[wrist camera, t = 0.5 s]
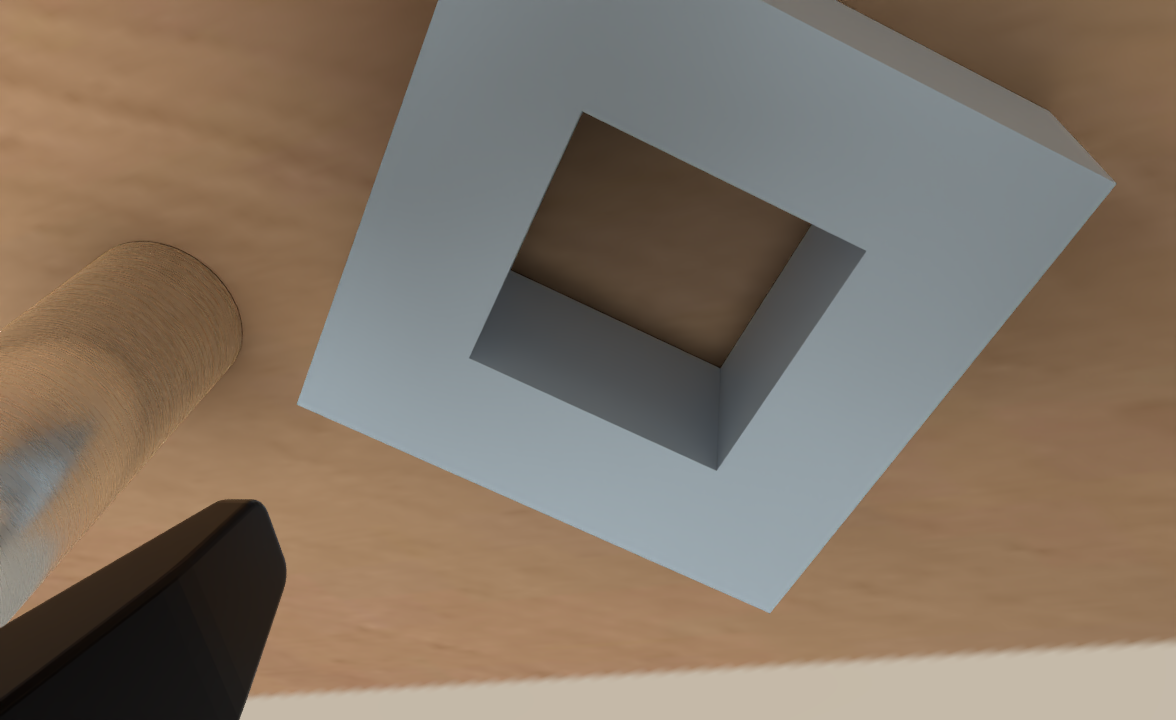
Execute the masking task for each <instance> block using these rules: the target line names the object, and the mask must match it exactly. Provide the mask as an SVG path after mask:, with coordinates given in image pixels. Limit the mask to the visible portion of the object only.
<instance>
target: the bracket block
mask: <svg viewBox="0 0 1176 720" xmlns="http://www.w3.org/2000/svg"><path fill="white" fill-rule="evenodd" d="M583 112H585V113H587V114H589V115H591V116H593V117H595V118H597V119H599V120H601V121H603V122H605V123H607V124H609V125H611V126H613V127H615V128H617V129H619V130H621V131H623V132H625V133H627V134H629V135H631V136H633V137H635V138H637V139H640V140H642V141H644V142H646V143H648V144H650V145H652V146H654V147H656V148H658V149H660V150H662V151H664V152H666V153H668V154H670V155H672V156H674V157H676V158H678V159H680V160H682V161H684V162H686V163H688V164H690V165H692V166H695V167H697V168H699V169H701V170H703V171H705V172H707V173H709V174H711V175H713V176H715V177H717V178H719V179H721V180H723V181H725V182H727V183H729V184H731V185H733V186H735V187H737V188H739V189H741V190H743V191H745V192H747V193H750V194H752V195H754V196H756V197H758V198H760V199H762V200H764V201H766V202H768V203H770V204H772V205H774V206H776V207H778V208H780V209H782V210H784V211H786V212H788V213H790V214H792V215H794V216H796V217H798V218H800V219H802V220H805V221H807V222H809V223H811V224H812V225H811V227H810V228H809V230H808V231H807V233H806V234H805V236H804V238H803V239H802V241H801V242H800V244H799V245H798V247H797V249H796V250H795V252H794V253H793V255H792V256H791V258H790V260H789V261H788V263H787V264H786V266H785V267H784V269H783V271H782V272H781V274H780V275H779V277H778V278H777V280H776V282H775V283H774V285H773V286H772V288H771V289H770V291H769V293H768V294H767V296H766V297H765V299H764V300H763V302H762V304H761V305H760V307H759V308H758V310H757V312H756V313H755V315H754V316H753V318H752V319H751V321H750V323H749V324H748V326H747V327H746V329H745V330H744V332H743V334H742V335H741V337H740V338H739V340H738V341H737V343H736V345H735V346H734V348H733V349H732V351H731V352H730V354H729V356H728V357H727V359H726V360H725V362H724V363H723V365H722V367H721V368H718V367H716V366H714V365H712V364H710V363H708V362H706V361H703V360H701V359H699V358H697V357H695V356H693V355H691V354H689V353H686V352H684V351H682V350H680V349H678V348H676V347H674V346H671V345H669V344H667V343H665V342H663V341H661V340H659V339H656V338H654V337H652V336H650V335H648V334H646V333H644V332H642V331H639V330H637V329H635V328H633V327H631V326H629V325H627V324H624V323H622V322H620V321H618V320H616V319H614V318H612V317H609V316H607V315H605V314H603V313H601V312H599V311H597V310H595V309H592V308H590V307H588V306H586V305H584V304H582V303H580V302H577V301H575V300H573V299H571V298H569V297H567V296H565V295H562V294H560V293H558V292H556V291H554V290H552V289H550V288H548V287H545V286H543V285H541V284H539V283H537V282H535V281H533V280H530V279H528V278H526V277H524V276H522V275H520V274H518V273H515V272H513V271H511V268H512V266H513V263H514V261H515V259H516V257H517V255H518V252H519V250H520V248H521V246H522V244H523V242H524V239H525V237H526V235H527V233H528V231H529V228H530V226H531V224H532V222H533V220H534V218H535V215H536V213H537V211H538V209H539V207H540V204H541V202H542V200H543V198H544V196H545V194H546V191H547V189H548V187H549V185H550V183H551V180H552V178H553V176H554V174H555V172H556V170H557V167H558V165H559V163H560V161H561V159H562V156H563V154H564V152H565V150H566V148H567V146H568V143H569V141H570V139H571V137H572V135H573V132H574V130H575V128H576V126H577V124H578V122H579V119H580V117H581V115H582V113H583ZM1116 184H1117V183H1116V182H1115V181H1114V180H1113V179H1112V178H1111V177H1110V176H1109V175H1108V174H1107V173H1106V172H1105V170H1104V169H1103V168H1102V167H1101V166H1100V165H1099V164H1098V163H1097V162H1096V161H1095V160H1094V159H1093V158H1092V157H1091V155H1090V154H1089V153H1088V152H1087V151H1086V150H1085V149H1084V148H1083V147H1082V146H1081V145H1080V144H1079V143H1078V141H1077V140H1076V139H1075V138H1074V137H1073V136H1072V135H1071V134H1070V133H1069V132H1068V131H1067V130H1066V129H1065V128H1064V126H1063V125H1062V124H1061V123H1060V122H1059V121H1058V120H1057V119H1056V118H1055V117H1054V116H1053V115H1052V114H1051V112H1050V111H1048V110H1046V109H1044V108H1042V107H1040V106H1038V105H1036V104H1034V103H1032V102H1030V101H1028V100H1027V99H1025V98H1023V97H1021V96H1019V95H1017V94H1015V93H1013V92H1011V91H1009V90H1007V89H1005V88H1003V87H1002V86H1000V85H998V84H996V83H994V82H992V81H990V80H988V79H986V78H984V77H982V76H980V75H978V74H977V73H975V72H973V71H971V70H969V69H967V68H965V67H963V66H961V65H959V64H957V63H955V62H953V61H951V60H950V59H948V58H946V57H944V56H942V55H940V54H938V53H936V52H934V51H932V50H930V49H928V48H926V47H925V46H923V45H921V44H919V43H917V42H915V41H913V40H911V39H909V38H907V37H905V36H903V35H901V34H900V33H898V32H896V31H894V30H892V29H890V28H888V27H886V26H884V25H882V24H880V23H878V22H876V21H875V20H873V19H871V18H869V17H867V16H865V15H863V14H861V13H859V12H857V11H855V10H853V9H851V8H850V7H848V6H846V5H844V4H842V3H840V2H838V1H836V0H438V3H437V5H436V8H435V11H434V14H433V17H432V20H431V23H430V25H429V28H428V31H427V34H426V37H425V40H424V43H423V45H422V48H421V51H420V54H419V57H418V60H417V63H416V65H415V68H414V71H413V74H412V77H411V80H410V83H409V85H408V88H407V91H406V94H405V97H404V100H403V103H402V105H401V108H400V111H399V114H398V117H397V120H396V123H395V125H394V128H393V131H392V134H391V137H390V140H389V142H388V145H387V148H386V151H385V154H384V157H383V160H382V162H381V165H380V168H379V171H378V174H377V177H376V180H375V182H374V185H373V188H372V191H371V194H370V197H369V200H368V202H367V205H366V208H365V211H364V214H363V217H362V220H361V222H360V225H359V228H358V231H357V234H356V237H355V240H354V242H353V245H352V248H351V251H350V254H349V257H348V260H347V262H346V265H345V268H344V271H343V274H342V277H341V280H340V282H339V285H338V288H337V291H336V294H335V297H334V300H333V302H332V305H331V308H330V311H329V314H328V317H327V320H326V322H325V325H324V328H323V331H322V334H321V337H320V339H319V342H318V345H317V348H316V351H315V354H314V357H313V359H312V362H311V365H310V368H309V371H308V374H307V377H306V379H305V382H304V385H303V388H302V391H301V394H300V397H299V399H298V402H297V405H299V406H301V407H304V408H306V409H308V410H310V411H313V412H315V413H317V414H319V415H322V416H324V417H326V418H328V419H331V420H333V421H335V422H338V423H340V424H342V425H344V426H347V427H349V428H351V429H353V430H356V431H358V432H360V433H362V434H365V435H367V436H369V437H372V438H374V439H376V440H378V441H381V442H383V443H385V444H387V445H390V446H392V447H394V448H396V449H399V450H401V451H403V452H406V453H408V454H410V455H412V456H415V457H417V458H419V459H421V460H424V461H426V462H428V463H430V464H433V465H435V466H437V467H440V468H442V469H444V470H446V471H449V472H451V473H453V474H455V475H458V476H460V477H462V478H464V479H467V480H469V481H471V482H474V483H476V484H478V485H480V486H483V487H485V488H487V489H489V490H492V491H494V492H496V493H498V494H501V495H503V496H505V497H508V498H510V499H512V500H514V501H517V502H519V503H521V504H523V505H526V506H528V507H530V508H532V509H535V510H537V511H539V512H542V513H544V514H546V515H548V516H551V517H553V518H555V519H557V520H560V521H562V522H564V523H566V524H569V525H571V526H573V527H576V528H578V529H580V530H582V531H585V532H587V533H589V534H591V535H594V536H596V537H598V538H600V539H603V540H605V541H607V542H610V543H612V544H614V545H616V546H619V547H621V548H623V549H625V550H628V551H630V552H632V553H634V554H637V555H639V556H641V557H644V558H646V559H648V560H650V561H653V562H655V563H657V564H659V565H662V566H664V567H666V568H668V569H671V570H673V571H675V572H678V573H680V574H682V575H684V576H687V577H689V578H691V579H693V580H696V581H698V582H700V583H702V584H705V585H707V586H709V587H712V588H714V589H716V590H718V591H721V592H723V593H725V594H727V595H730V596H732V597H734V598H736V599H739V600H741V601H743V602H746V603H748V604H750V605H752V606H755V607H757V608H759V609H761V610H764V611H766V612H768V613H771V611H772V610H773V609H774V608H775V606H776V605H777V604H778V603H779V601H780V600H781V599H782V598H783V596H784V595H785V594H786V593H787V592H788V590H789V589H790V588H791V587H792V585H793V584H794V583H795V582H796V580H797V579H798V578H799V577H800V575H801V574H802V573H803V572H804V570H805V569H806V568H807V567H808V565H809V564H810V563H811V562H812V561H813V559H814V558H815V557H816V556H817V554H818V553H819V552H820V551H821V549H822V548H823V547H824V546H825V544H826V543H827V542H828V541H829V539H830V538H831V537H832V536H833V535H834V533H835V532H836V531H837V530H838V528H839V527H840V526H841V525H842V523H843V522H844V521H845V520H846V518H847V517H848V516H849V515H850V513H851V512H852V511H853V510H854V508H855V507H856V506H857V505H858V504H859V502H860V501H861V500H862V499H863V497H864V496H865V495H866V494H867V492H868V491H869V490H870V489H871V487H872V486H873V485H874V484H875V482H876V481H877V480H878V479H879V478H880V476H881V475H882V474H883V473H884V471H885V470H886V469H887V468H888V466H889V465H890V464H891V463H892V461H893V460H894V459H895V458H896V456H897V455H898V454H899V453H900V451H901V450H902V449H903V448H904V447H905V445H906V444H907V443H908V442H909V440H910V439H911V438H912V437H913V435H914V434H915V433H916V432H917V430H918V429H919V428H920V427H921V425H922V424H923V423H924V422H925V421H926V419H927V418H928V417H929V416H930V414H931V413H932V412H933V411H934V409H935V408H936V407H937V406H938V404H939V403H940V402H941V401H942V399H943V398H944V397H945V396H946V395H947V393H948V392H949V391H950V390H951V388H952V387H953V386H954V385H955V383H956V382H957V381H958V380H959V378H960V377H961V376H962V375H963V373H964V372H965V371H966V370H967V368H968V367H969V366H970V365H971V364H972V362H973V361H974V360H975V359H976V357H977V356H978V355H979V354H980V352H981V351H982V350H983V349H984V347H985V346H986V345H987V344H988V342H989V341H990V340H991V339H992V338H993V336H994V335H995V334H996V333H997V331H998V330H999V329H1000V328H1001V326H1002V325H1003V324H1004V323H1005V321H1006V320H1007V319H1008V318H1009V316H1010V315H1011V314H1012V313H1013V311H1014V310H1015V309H1016V308H1017V307H1018V305H1019V304H1020V303H1021V302H1022V300H1023V299H1024V298H1025V297H1026V295H1027V294H1028V293H1029V292H1030V290H1031V289H1032V288H1033V287H1034V285H1035V284H1036V283H1037V282H1038V281H1039V279H1040V278H1041V277H1042V276H1043V274H1044V273H1045V272H1046V271H1047V269H1048V268H1049V267H1050V266H1051V264H1052V263H1053V262H1054V261H1055V259H1056V258H1057V257H1058V256H1059V254H1060V253H1061V252H1062V251H1063V250H1064V248H1065V247H1066V246H1067V245H1068V243H1069V242H1070V241H1071V240H1072V238H1073V237H1074V236H1075V235H1076V233H1077V232H1078V231H1079V230H1080V228H1081V227H1082V226H1083V225H1084V224H1085V222H1086V221H1087V220H1088V219H1089V217H1090V216H1091V215H1092V214H1093V212H1094V211H1095V210H1096V209H1097V207H1098V206H1099V205H1100V204H1101V202H1102V201H1103V200H1104V199H1105V197H1106V196H1107V195H1108V194H1109V193H1110V191H1111V190H1112V189H1113V188H1114V186H1115V185H1116Z"/></svg>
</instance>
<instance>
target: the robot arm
mask: <svg viewBox="0 0 1176 720" xmlns="http://www.w3.org/2000/svg"><path fill="white" fill-rule="evenodd" d="M285 582H286V563H285V559H284V556H283V553H282V550H281V548H280V545H279V542H278V539H277V537H276V534H275V531H274V528H273V525H272V523H271V520H270V517H269V514H268V512H267V510H266V508H265V507H264V505H263V504H262V503H261V502H259V501H257V500H253V499H231V500H221V501H218V502H216V503H214V504H212V505H210V506H209V507H207V508H205V509H203V510H202V511H200V512H198V513H196V514H195V515H193V516H191V517H190V518H188V519H186V520H184V521H183V522H181V523H179V524H178V525H176V526H174V527H172V528H171V529H169V530H167V531H166V532H164V533H162V534H160V535H159V536H157V537H155V538H154V539H152V540H150V541H148V542H147V543H145V544H143V545H142V546H140V547H138V548H136V549H135V550H133V551H131V552H129V553H128V554H126V555H124V556H123V557H121V558H119V559H117V560H116V561H114V562H112V563H111V564H109V565H107V566H105V567H104V568H102V569H100V570H99V571H97V572H95V573H93V574H92V575H90V576H88V577H87V578H85V579H83V580H81V581H80V582H78V583H76V584H75V585H73V586H71V587H69V588H68V589H66V590H64V591H62V592H61V593H59V594H57V595H56V596H54V597H52V598H50V599H49V600H47V601H45V602H44V603H42V604H40V605H38V606H37V607H35V608H33V609H32V610H30V611H28V612H26V613H25V614H23V615H21V616H20V617H18V618H16V619H14V620H13V621H11V622H9V623H8V624H6V625H4V626H2V627H1V628H0V720H239V719H240V716H241V713H242V711H243V708H244V705H245V703H246V700H247V697H248V694H249V691H250V688H251V685H252V682H253V679H254V676H255V673H256V671H257V668H258V665H259V662H260V659H261V656H262V653H263V650H264V647H265V644H266V641H267V638H268V635H269V632H270V629H271V626H272V623H273V620H274V617H275V614H276V611H277V608H278V605H279V602H280V599H281V596H282V593H283V590H284V587H285Z"/></svg>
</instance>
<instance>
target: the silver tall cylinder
mask: <svg viewBox="0 0 1176 720" xmlns="http://www.w3.org/2000/svg"><path fill="white" fill-rule="evenodd" d="M241 342H242V326H241V320H240V316H239V313H238V310H237V307H236V305H235V303H234V301H233V299H232V297H231V295H230V293H229V292H228V290H227V289H226V287H225V286H224V285H223V284H222V282H221V281H220V280H219V279H218V278H217V276H215V275H214V274H213V273H212V272H211V271H210V270H209V269H208V268H207V267H206V266H204V265H203V264H202V263H201V262H199V261H198V260H196V259H195V258H193V257H192V256H190V255H188V254H186V253H184V252H182V251H180V250H178V249H175V248H173V247H170V246H167V245H163V244H159V243H153V242H129V243H125V244H121V245H118V246H116V247H114V248H111V249H110V250H108V251H107V252H105V253H104V254H102V255H101V256H100V257H98V258H97V259H96V260H94V261H93V262H92V263H90V264H89V265H88V266H86V267H85V268H84V269H82V270H81V271H80V272H78V273H77V274H75V275H74V276H73V277H71V278H70V279H69V280H67V281H66V282H65V283H63V284H62V285H61V286H59V287H58V288H57V289H55V290H54V291H53V292H51V293H50V294H49V295H47V296H46V297H45V298H43V299H42V300H40V301H39V302H38V303H36V304H35V305H34V306H32V307H31V308H30V309H28V310H27V311H26V312H24V313H23V314H22V315H20V316H19V317H18V318H16V319H15V320H14V321H12V322H11V323H9V324H8V325H7V326H5V327H4V328H3V329H1V330H0V628H1V627H2V626H4V625H6V624H7V622H8V621H9V620H10V619H11V618H12V617H13V616H14V614H15V613H16V612H17V611H18V610H19V609H20V608H21V606H22V605H23V604H24V603H25V602H26V601H27V600H28V598H29V597H30V596H31V595H32V594H33V593H34V591H35V590H36V589H37V588H38V587H39V586H40V585H41V583H42V582H43V581H44V580H45V579H46V578H47V577H48V575H49V574H50V573H51V572H52V571H53V570H54V569H55V567H56V566H57V565H58V564H59V563H60V562H61V560H62V559H63V558H64V557H65V556H66V555H67V554H68V552H69V551H70V550H71V549H72V548H73V547H74V546H75V544H76V543H77V542H78V541H79V540H80V539H81V538H82V536H83V535H84V534H85V533H86V532H87V531H88V530H89V528H90V527H91V526H92V525H93V524H94V523H95V521H96V520H97V519H98V518H99V517H100V516H101V515H102V513H103V512H104V511H105V510H106V509H107V508H108V507H109V505H110V504H111V503H112V502H113V501H114V500H115V499H116V497H117V496H118V495H119V494H120V493H121V492H122V490H123V489H124V488H125V487H126V486H127V485H128V484H129V482H130V481H131V480H132V479H133V478H134V477H135V476H136V474H137V473H138V472H139V471H140V470H141V469H142V468H143V466H144V465H145V464H146V463H147V462H148V461H149V460H150V458H151V457H152V456H153V455H154V454H155V453H156V451H157V450H158V449H159V448H160V447H161V446H162V445H163V443H164V442H165V441H166V440H167V439H168V438H169V437H170V435H171V434H172V433H173V432H174V431H175V430H176V429H177V427H178V426H179V425H180V424H181V423H182V422H183V420H184V419H185V418H186V417H187V416H188V415H189V414H190V412H191V411H192V410H193V409H194V408H195V407H196V406H197V404H198V403H199V402H200V401H201V400H202V399H203V398H204V396H205V395H206V394H207V393H208V392H209V391H210V390H211V388H212V387H213V386H214V385H215V384H216V383H217V381H218V380H219V379H220V378H221V377H222V376H223V375H224V373H225V372H226V371H227V370H228V369H229V368H230V367H231V365H232V364H233V363H234V361H235V360H236V358H237V356H238V353H239V351H240V347H241Z"/></svg>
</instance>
